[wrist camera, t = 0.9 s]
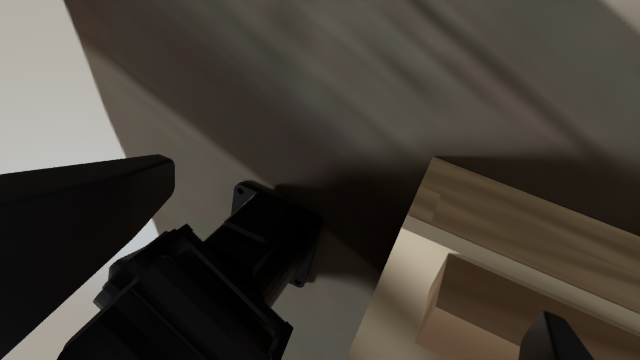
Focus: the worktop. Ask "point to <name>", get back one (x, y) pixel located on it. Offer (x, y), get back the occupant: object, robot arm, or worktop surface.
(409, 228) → the lid
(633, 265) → the wooden box
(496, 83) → the worktop surface
